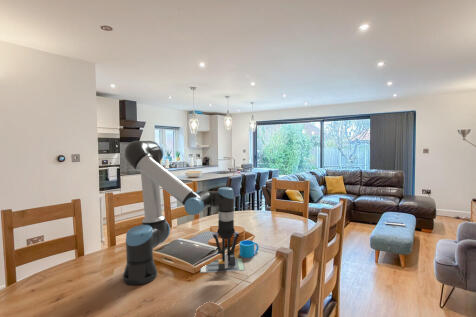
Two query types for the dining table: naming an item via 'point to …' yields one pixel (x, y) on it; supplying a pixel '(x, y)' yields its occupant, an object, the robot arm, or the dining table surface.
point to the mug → (247, 248)
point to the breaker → (232, 260)
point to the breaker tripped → (221, 264)
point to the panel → (214, 268)
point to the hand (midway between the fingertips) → (226, 266)
